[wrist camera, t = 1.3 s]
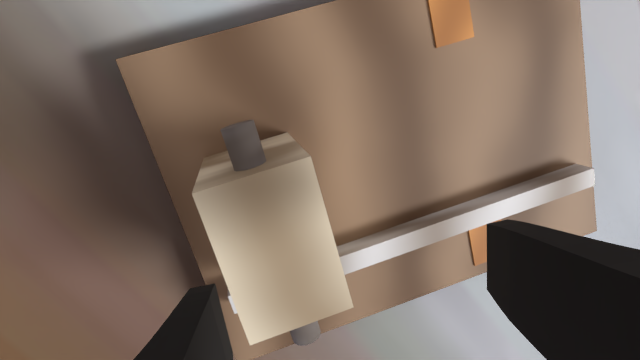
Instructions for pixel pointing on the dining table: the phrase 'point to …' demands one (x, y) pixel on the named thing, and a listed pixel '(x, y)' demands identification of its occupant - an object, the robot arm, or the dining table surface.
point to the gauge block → (271, 235)
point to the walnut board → (387, 131)
